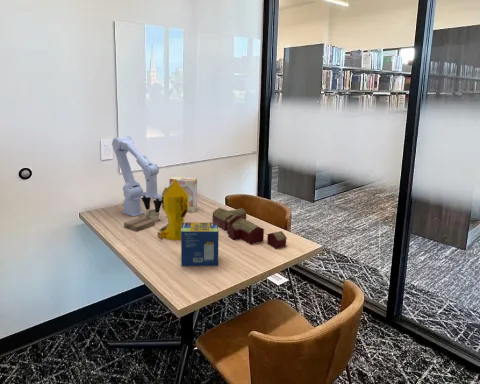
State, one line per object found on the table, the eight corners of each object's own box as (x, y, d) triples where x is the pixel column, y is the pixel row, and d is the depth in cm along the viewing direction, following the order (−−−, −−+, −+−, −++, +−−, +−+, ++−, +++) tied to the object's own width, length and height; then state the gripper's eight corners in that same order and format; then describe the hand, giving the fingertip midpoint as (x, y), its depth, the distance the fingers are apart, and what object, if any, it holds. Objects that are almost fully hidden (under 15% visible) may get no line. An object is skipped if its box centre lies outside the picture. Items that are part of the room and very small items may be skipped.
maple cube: (146, 219, 203) (145, 210, 201) (153, 217, 207) (152, 208, 205) (152, 221, 200) (152, 212, 199) (159, 218, 204) (159, 210, 203)
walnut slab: (124, 228, 190) (123, 222, 189) (141, 221, 200) (141, 216, 199) (137, 232, 185) (137, 227, 184) (154, 225, 194) (154, 220, 194)
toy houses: (208, 224, 198) (208, 206, 196) (239, 218, 209) (240, 201, 207) (257, 255, 162) (258, 234, 160) (292, 246, 174) (293, 226, 171)
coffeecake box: (169, 210, 219) (168, 178, 214) (174, 206, 226) (173, 175, 221) (193, 212, 216) (193, 180, 211) (197, 209, 223) (197, 177, 218)
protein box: (182, 255, 160) (182, 222, 156) (217, 255, 161) (218, 222, 157) (180, 266, 150) (180, 231, 146) (218, 266, 151) (219, 231, 147)
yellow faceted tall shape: (169, 246, 169) (168, 187, 161) (149, 229, 188) (147, 176, 180) (202, 238, 178) (202, 183, 171) (180, 223, 198) (179, 173, 190)
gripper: (136, 186, 199) (137, 210, 203) (155, 190, 191) (156, 215, 195) (146, 183, 205) (147, 206, 208) (165, 187, 197) (166, 211, 201)
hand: (152, 210), depth 202 cm, fingers open, 7 cm apart
